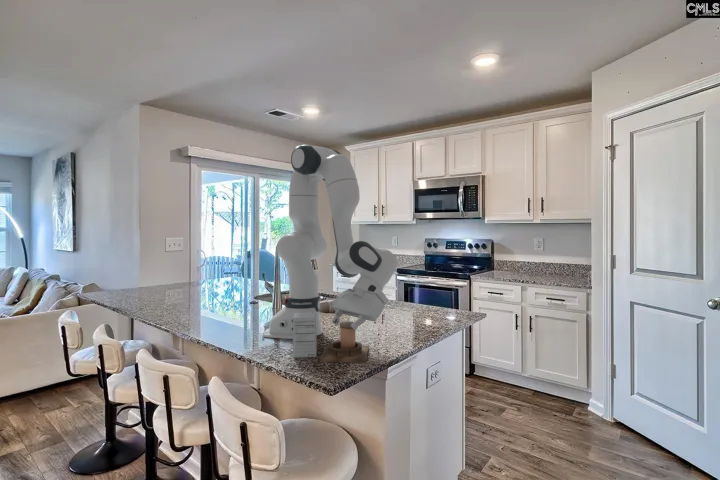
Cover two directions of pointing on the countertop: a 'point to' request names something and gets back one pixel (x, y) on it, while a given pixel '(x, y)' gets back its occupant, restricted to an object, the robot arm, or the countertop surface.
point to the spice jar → (347, 336)
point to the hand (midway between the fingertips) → (343, 325)
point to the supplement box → (304, 335)
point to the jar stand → (344, 353)
